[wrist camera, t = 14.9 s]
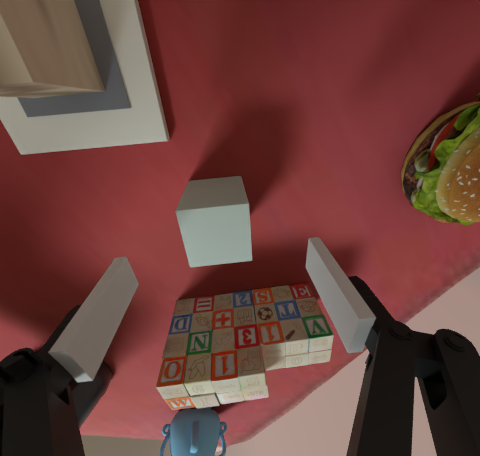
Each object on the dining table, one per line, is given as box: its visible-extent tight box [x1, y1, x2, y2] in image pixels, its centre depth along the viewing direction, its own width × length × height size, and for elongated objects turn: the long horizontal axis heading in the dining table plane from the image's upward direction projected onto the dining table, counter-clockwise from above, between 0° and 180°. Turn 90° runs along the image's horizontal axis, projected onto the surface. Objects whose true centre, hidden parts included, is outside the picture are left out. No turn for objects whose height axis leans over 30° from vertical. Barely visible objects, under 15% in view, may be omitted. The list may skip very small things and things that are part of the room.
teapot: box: [159, 407, 227, 456], centre depth 49 cm, size 13×14×11 cm
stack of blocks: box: [156, 283, 334, 410], centre depth 30 cm, size 21×6×12 cm, turn 97°
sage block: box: [176, 176, 252, 267], centre depth 22 cm, size 6×6×8 cm
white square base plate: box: [0, 0, 170, 155], centre depth 17 cm, size 14×15×1 cm
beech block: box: [0, 0, 105, 98], centre depth 13 cm, size 6×6×8 cm
